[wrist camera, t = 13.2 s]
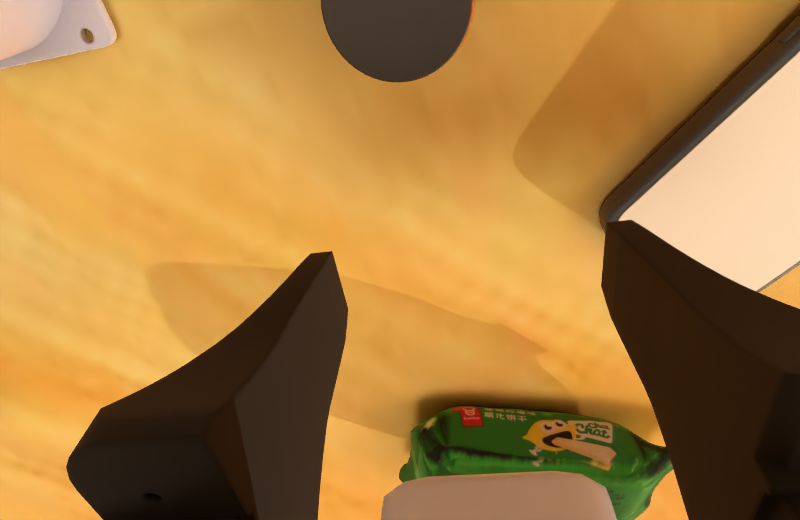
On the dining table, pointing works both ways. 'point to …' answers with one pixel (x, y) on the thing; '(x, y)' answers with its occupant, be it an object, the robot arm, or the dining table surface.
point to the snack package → (539, 450)
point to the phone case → (730, 174)
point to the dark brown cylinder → (397, 34)
